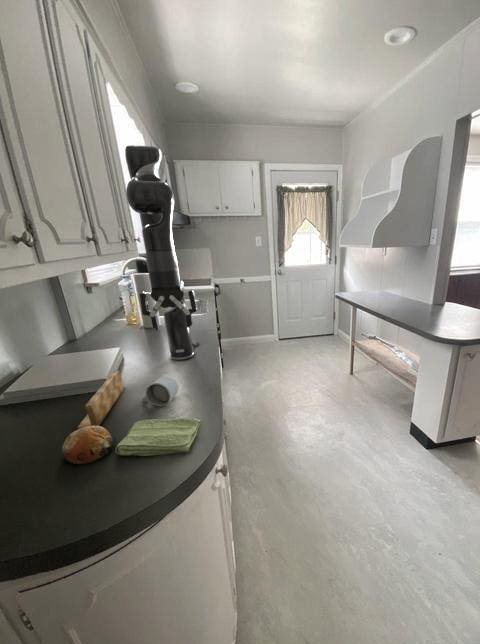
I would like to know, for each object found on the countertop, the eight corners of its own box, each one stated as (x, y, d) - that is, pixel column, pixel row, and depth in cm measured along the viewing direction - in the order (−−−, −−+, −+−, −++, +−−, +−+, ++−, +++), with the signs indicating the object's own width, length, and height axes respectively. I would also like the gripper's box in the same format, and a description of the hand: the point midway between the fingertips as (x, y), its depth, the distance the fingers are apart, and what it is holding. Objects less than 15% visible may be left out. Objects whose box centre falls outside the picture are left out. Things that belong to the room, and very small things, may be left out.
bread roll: (110, 448, 80) (98, 420, 79) (122, 448, 72) (109, 417, 72) (67, 468, 73) (53, 438, 72) (76, 471, 65) (60, 437, 65)
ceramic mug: (182, 394, 99) (178, 372, 96) (172, 406, 92) (167, 383, 89) (151, 394, 100) (146, 373, 97) (138, 406, 93) (132, 384, 90)
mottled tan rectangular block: (108, 390, 103) (102, 371, 100) (123, 388, 104) (119, 370, 101) (77, 429, 81) (70, 407, 79) (98, 427, 82) (91, 405, 80)
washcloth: (191, 455, 71) (189, 444, 70) (114, 459, 70) (110, 447, 69) (202, 424, 83) (201, 414, 82) (137, 427, 82) (134, 416, 81)
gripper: (192, 266, 84) (200, 323, 91) (138, 268, 82) (150, 326, 89) (189, 269, 78) (198, 330, 84) (130, 271, 75) (143, 333, 82)
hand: (173, 328), depth 86 cm, fingers open, 8 cm apart
